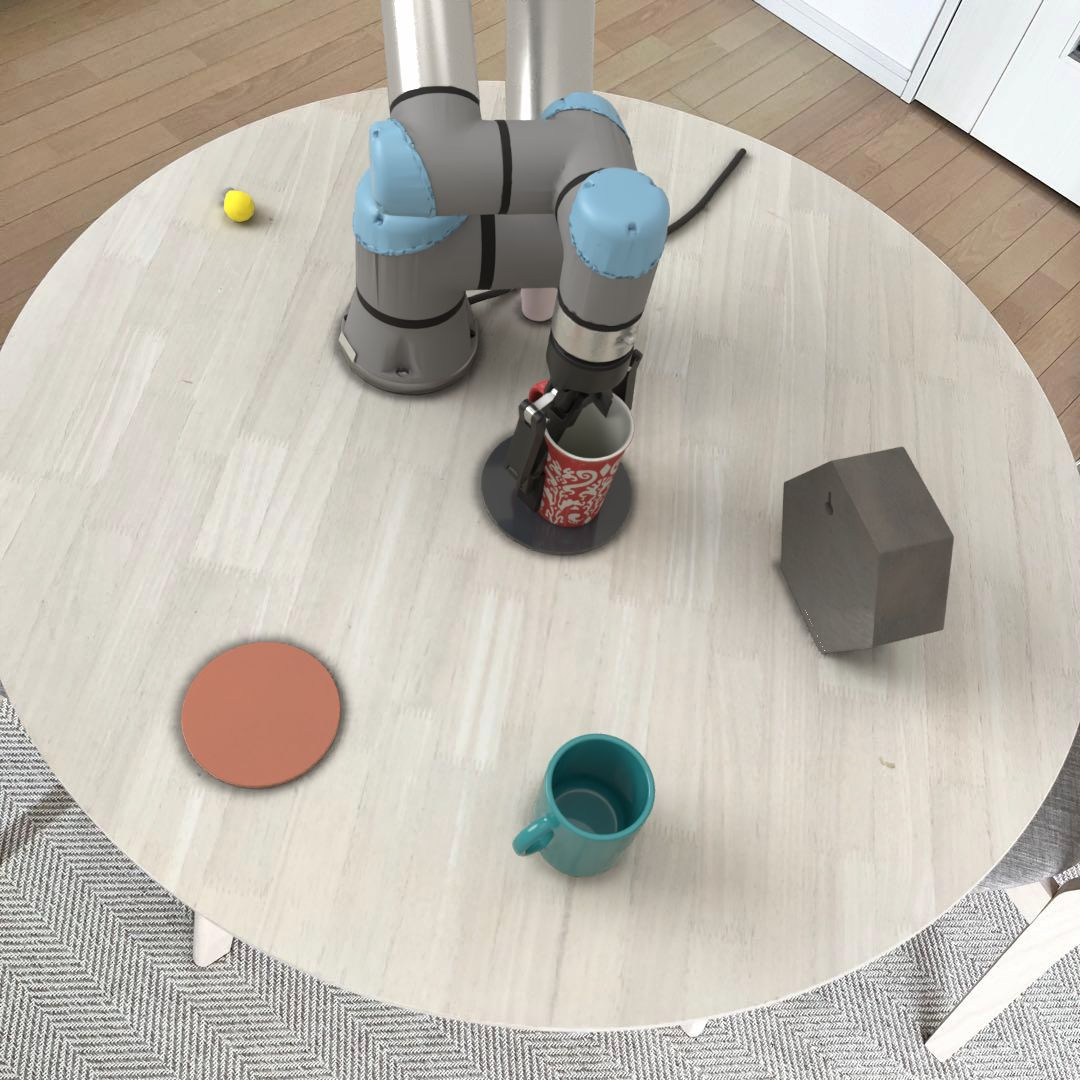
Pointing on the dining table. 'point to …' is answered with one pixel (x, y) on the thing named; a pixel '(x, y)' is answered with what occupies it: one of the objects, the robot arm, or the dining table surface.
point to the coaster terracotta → (260, 714)
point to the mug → (583, 461)
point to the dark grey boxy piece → (865, 551)
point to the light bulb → (238, 205)
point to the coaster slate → (534, 527)
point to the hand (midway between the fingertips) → (558, 482)
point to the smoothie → (538, 303)
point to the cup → (589, 805)
